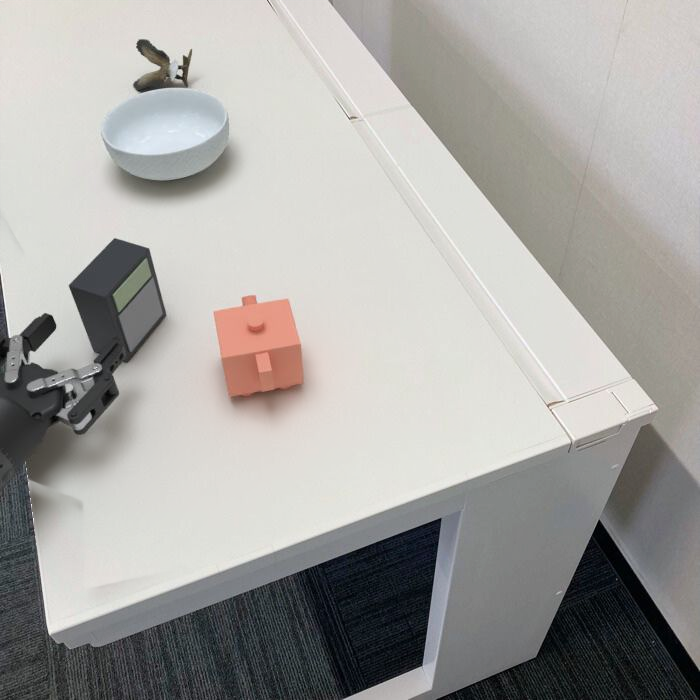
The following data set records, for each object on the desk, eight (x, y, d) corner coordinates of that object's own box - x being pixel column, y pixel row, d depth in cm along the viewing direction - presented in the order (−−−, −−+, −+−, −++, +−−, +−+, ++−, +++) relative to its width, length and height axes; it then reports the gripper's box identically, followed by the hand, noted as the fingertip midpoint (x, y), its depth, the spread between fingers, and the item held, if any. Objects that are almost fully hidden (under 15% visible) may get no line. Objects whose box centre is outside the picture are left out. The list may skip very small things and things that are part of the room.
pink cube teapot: (287, 323, 87) (281, 269, 81) (308, 404, 80) (304, 351, 74) (218, 335, 86) (208, 281, 80) (233, 419, 78) (222, 366, 72)
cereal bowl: (202, 117, 116) (194, 74, 111) (255, 172, 107) (249, 127, 102) (94, 154, 110) (81, 109, 105) (140, 215, 101) (128, 169, 95)
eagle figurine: (194, 62, 125) (138, 51, 124) (191, 38, 118) (131, 26, 117) (186, 105, 124) (129, 94, 123) (182, 84, 117) (122, 73, 116)
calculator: (93, 351, 85) (68, 285, 77) (134, 304, 90) (114, 237, 82) (128, 363, 84) (106, 297, 76) (168, 315, 88) (151, 248, 81)
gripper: (27, 456, 64) (136, 325, 74) (-104, 403, 68) (17, 285, 78) (53, 502, 70) (152, 375, 80) (-69, 451, 74) (40, 336, 83)
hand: (85, 331), depth 79 cm, fingers open, 8 cm apart
